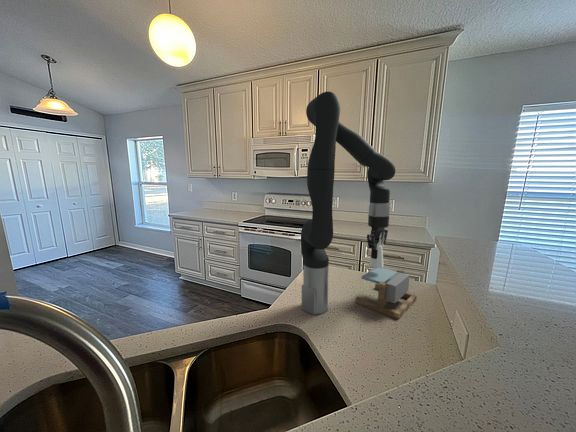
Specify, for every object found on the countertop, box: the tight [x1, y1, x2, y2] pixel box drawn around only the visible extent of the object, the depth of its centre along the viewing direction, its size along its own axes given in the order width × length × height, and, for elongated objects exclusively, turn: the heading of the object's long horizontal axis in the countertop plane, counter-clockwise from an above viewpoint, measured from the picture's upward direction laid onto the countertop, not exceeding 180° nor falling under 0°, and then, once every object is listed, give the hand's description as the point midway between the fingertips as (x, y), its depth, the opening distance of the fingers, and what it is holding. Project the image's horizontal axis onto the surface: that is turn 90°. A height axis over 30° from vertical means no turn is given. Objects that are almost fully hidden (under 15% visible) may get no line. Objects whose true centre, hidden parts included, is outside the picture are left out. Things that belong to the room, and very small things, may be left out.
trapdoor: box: [361, 267, 410, 304], centre depth 96 cm, size 14×13×7 cm
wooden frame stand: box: [355, 268, 418, 320], centre depth 96 cm, size 19×16×11 cm
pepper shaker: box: [368, 239, 385, 269], centre depth 97 cm, size 5×5×11 cm
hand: (376, 256), depth 97 cm, fingers closed on pepper shaker, 3 cm apart
